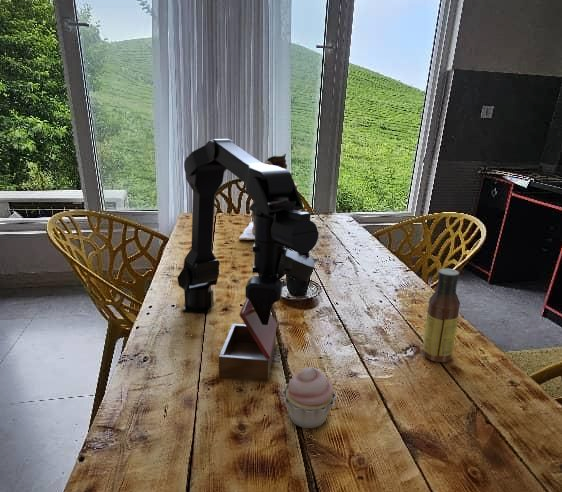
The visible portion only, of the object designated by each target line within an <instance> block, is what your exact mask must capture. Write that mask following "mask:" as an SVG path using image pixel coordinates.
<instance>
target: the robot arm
mask: <svg viewBox="0 0 562 492" xmlns="http://www.w3.org/2000/svg"><path fill="white" fill-rule="evenodd" d="M183 162H184V164H183V168H184V173H185V179H186V182H187V183H188V185H189V187H190V189H191V190H192V213H191V214H192V215H191V216H192V217H191V222H192V223H191V248H190V250H189V251H188V253H187V254H186V256H185V257H184V261H183V268H182V270H181V271H180V272H179V274H178V275H177V283H178V286H179V287H180V288H181V289H183V293H184V306H183V308H182V312H189V313H200V314H201V313H202V314H208V313H209V312H210V309H212V307H213V306H214V303H215V301H214V298H215V297H214V290H213V288H212V286H216V285H217V284H218V280H219V276H220V264H221V263H220V261H219V259H217V258H216V255H214V254H215V253H213V241H214V239H213V237H214V219H215V201H216V193H217V192H218V190H219V189H220V187H221V186H222V185H223V183H224V176H225V172H226V171H229V172H230V173H232V174H233V175H234V176H236V177H237V178H238V179H239V180H240V181H242V182H243V183H244V184H245V192H246V193H247V195H248V196H249V197H250V198H251V199H252V201H253V200H254V201H255V202H254V203H253V202H252V203H251V204H250V205H249V206H248V208H249V211H251V212H252V211H254V212H255V240H254V243H253V245H252V253H254V257H253V258H254V263H253V266H252V273H253V274H257V275H253V276H252V277H251V278H250V279H248V281H247V282H246V286H245V290H244V291H245V299H246V298H248V300H250V302H251V304H252V305H253V307H254V309H255V311H256V313H257V315H258V317H259V319H260V321H261V323H262V325H268V322H269V318H270V313H271V314H272V309H273V305H274V304H275V303H278V302H279V301H281V299H282V296H283V295H282V294H283V281H282V280H281V279H282V278H284V277H285V276H286V275H287V274H288V275H291V276H293V277H296V278H298V279H300V281H303V282H308V281H309V279H310V277H311V275H312V273H313V271H314V268H315V263H316V262H315V259H314V258H313V257H312V256H311V257H310V252H311V251H312V250H313V249H314V248H315V247H316V245H317V243H318V241H319V234H320V233H319V230H318V227H317V224H316V223H315V222H314V221H312V220H311V213H310V212H308V211H303V210H304V205H303V202H302V201H303V200H302V197H301V196H300V194H299V192H298V187H297V188H296V186H295V183H296V182H295V181H294V178H293V175H292V174H291V172H290V171H289V170H288V169H284V168H281V167H278V166H274V165H268V164H264V163H265V162H261V161H260V160H258V159H257V158H256V157H254V156H252V154H249V153H248V152H247V151H245V149H243V148H241V147H239V146H238V145H237V144H236V143H235V141H234V140H233V139H230V138H213V139H211V140H208V141H207V142H206V143H205V144H204V145H203V146H200V147H198V148H196V149H195V150H192V151H191V152H190V153H189V155H188V156H186V157H185V160H184V161H183ZM294 182H295V183H294ZM287 200H289V202H282V203H273V202H281V201H287ZM270 203H273V204H270Z"/></svg>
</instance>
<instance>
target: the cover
mask: <svg viewBox="0 0 562 492" xmlns="http://www.w3.org/2000/svg"><path fill="white" fill-rule="evenodd" d="M239 317H240V318H241V320H242V322H243V323H244V325H246V326H247V328H248V330H249V331H250V333H251V335H252V336H253V338H254V339H255V341H256V343H257V344H258V346H259V348H260V349H261V351H262V352H263V354H264V356H265V357H266V359H268V358H270V356H271V351H272V347H273V342H274V338H275V339H276V337H275V333H277V330H278V329H277V327H278V322H277V321H276V319H275V317H274V316H273V313H272V312H271V313H270V318H269V322H268V325H262V323H261V321H260V319H259V317H258V315H257V313H256V311H255V309H254V307H253V305H252V304H251V302H250V300H248V298H246V297H245V300H244V303H243V305H242V307H241V310H240V312H239Z"/></svg>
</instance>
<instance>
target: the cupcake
mask: <svg viewBox="0 0 562 492" xmlns="http://www.w3.org/2000/svg"><path fill="white" fill-rule="evenodd" d="M281 395H282V397H283V399H284V400H283V401H284V403H285V405H286V406H287V407H286V408H287V412H288V416H289V418H290V420H291V422H292V423H293V424H294V425H296V426H298V427H300V428H302V429H303V428H304V429H316V428H318V427H321V426H322V425H323V424H324V423H325V422H326V420H327V417H328V415H329V412H330V410H331V409H332V408H333V407H334V406H335V404H336V402H335V400H336V398H337V397H338V395H337V393H336V392H334V387H333V385H332V384H331V382H330V381H329V379H328V377H327V376H326V374H325V373H324V372H322V371H321V370H320V369H318V368H317V367H314V366H308V367H305V368H302V369H301V371H299V372H297V373H296V374H294V375H293V376H292V377H291V378H290V379H289V382H288V383H286V384H285V389H284V390H282V391H281Z"/></svg>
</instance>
